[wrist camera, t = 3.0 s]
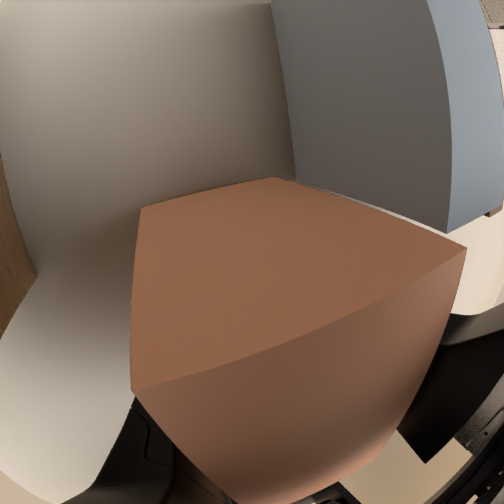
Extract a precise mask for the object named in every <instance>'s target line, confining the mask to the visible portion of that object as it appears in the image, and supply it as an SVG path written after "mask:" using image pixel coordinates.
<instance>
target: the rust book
mask: <svg viewBox="0 0 504 504" xmlns="http://www.w3.org/2000/svg"><path fill="white" fill-rule="evenodd" d="M466 252H467V248H466V247H464V246H462V245H460V244H458V243H456V242H454V241H451V240H449V239H447V238H445V237H443V236H440V235H438V234H436V233H434V232H431V231H429V230H427V229H424V228H422V227H419V226H417V225H415V224H412V223H410V222H407V221H405V220H402V219H400V218H397V217H395V216H392V215H389V214H387V213H384V212H381V211H379V210H376V209H373V208H371V207H368V206H365V205H362V204H359V203H357V202H354V201H351V200H348V199H345V198H342V197H339V196H336V195H333V194H330V193H327V192H324V191H321V190H317V189H314V188H311V187H308V186H304V185H301V184H298V183H294V182H291V181H287V180H284V179H280V178H277V177H268V178H263V179H258V180H253V181H248V182H243V183H238V184H234V185H229V186H224V187H220V188H215V189H211V190H207V191H203V192H198V193H194V194H190V195H186V196H182V197H178V198H174V199H171V200H167V201H163V202H159V203H156V204H152V205H148V206H145V207H141V213H140V219H139V226H138V234H137V241H136V250H135V259H134V270H133V282H132V296H131V317H130V377H131V390H132V392H133V393H134V395H135V396H136V397H137V399H138V400H139V401H140V403H141V404H142V405H143V407H144V408H145V409H146V411H147V412H148V413H149V414H150V416H151V417H152V418H153V419H154V421H155V422H156V423H157V424H158V425H159V427H160V428H161V429H162V430H163V431H164V433H165V434H166V435H167V436H168V437H169V438H170V439H171V441H172V442H173V443H174V444H175V445H176V446H177V447H178V448H179V449H180V450H181V452H182V453H183V454H184V455H185V456H186V457H187V458H188V459H189V460H190V461H191V462H192V463H193V464H194V465H195V466H196V467H197V468H198V469H199V470H200V471H201V472H202V473H203V474H204V475H205V476H207V477H208V478H209V479H210V480H211V481H212V482H213V483H214V484H215V485H216V486H218V487H219V488H220V489H221V490H222V491H223V492H225V493H226V494H227V495H228V496H229V497H230V498H232V499H233V500H234V501H235V502H237V503H238V504H291V503H293V502H296V501H298V500H300V499H303V498H305V497H307V496H309V495H312V494H314V493H316V492H318V491H320V490H322V489H324V488H326V487H328V486H330V485H332V484H334V483H336V482H338V481H339V480H341V479H343V478H345V477H347V476H348V475H350V474H352V473H354V472H355V471H357V470H358V469H360V468H362V467H363V466H365V465H367V464H368V463H370V462H371V461H373V460H374V459H376V458H377V456H378V455H379V454H380V452H381V451H382V449H383V448H384V446H385V445H386V444H387V442H388V440H389V439H390V438H391V436H392V434H393V433H394V431H395V430H396V428H397V427H398V425H399V423H400V422H401V420H402V418H403V417H404V415H405V413H406V412H407V410H408V408H409V406H410V404H411V403H412V401H413V399H414V397H415V395H416V393H417V391H418V389H419V387H420V385H421V383H422V381H423V379H424V377H425V375H426V373H427V371H428V369H429V367H430V364H431V362H432V360H433V357H434V355H435V353H436V350H437V348H438V345H439V343H440V340H441V338H442V335H443V332H444V330H445V327H446V324H447V321H448V318H449V315H450V312H451V309H452V306H453V303H454V300H455V296H456V293H457V289H458V286H459V282H460V278H461V274H462V270H463V266H464V261H465V256H466Z"/></svg>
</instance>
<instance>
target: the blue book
mask: <svg viewBox="0 0 504 504" xmlns="http://www.w3.org/2000/svg"><path fill="white" fill-rule="evenodd" d="M269 4H270V9H271V14H272V19H273V24H274V29H275V34H276V39H277V45H278V50H279V56H280V62H281V68H282V74H283V81H284V87H285V94H286V101H287V108H288V115H289V123H290V131H291V139H292V147H293V156H294V165H295V175H296V180H297V181H300V182H304V183H307V184H311V185H314V186H317V187H321V188H324V189H327V190H330V191H334V192H337V193H340V194H343V195H346V196H349V197H352V198H355V199H358V200H361V201H364V202H367V203H369V204H372V205H375V206H378V207H381V208H383V209H386V210H389V211H391V212H394V213H397V214H399V215H402V216H404V217H407V218H410V219H412V220H415V221H417V222H420V223H422V224H424V225H427V226H429V227H432V228H434V229H436V230H439V231H441V232H443V233H445V234H447V233H449V232H451V231H453V230H455V229H457V228H459V227H461V226H463V225H465V224H467V223H469V222H471V221H473V220H474V219H476V218H478V217H480V216H482V215H484V214H486V213H488V212H489V211H491V210H493V209H495V208H497V207H498V206H500V205H502V200H503V191H504V106H503V97H502V89H501V82H500V76H499V71H498V66H497V61H496V56H495V52H494V48H493V44H492V40H491V37H490V33H489V30H488V27H487V24H486V20H485V17H484V15H483V12H482V9H481V6H480V4H479V1H478V0H272V1H271V2H270V3H269Z"/></svg>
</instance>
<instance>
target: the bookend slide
mask: <svg viewBox="0 0 504 504" xmlns="http://www.w3.org/2000/svg"><path fill="white" fill-rule="evenodd" d="M36 279H37V276H36V273H35V271H34V269H33V266H32V264H31V261H30V259H29V256H28V254H27V251H26V249H25V246H24V243H23V240H22V237H21V235H20V232H19V229H18V225H17V222H16V219H15V216H14V212H13V209H12V205H11V202H10V198H9V194H8V190H7V185H6V181H5V176H4V171H3V166H2V160H1V154H0V339H1V337H2V335H3V333H4V331H5V329H6V328H7V326H8V324H9V322H10V320H11V319H12V317H13V315H14V313H15V312H16V310H17V308H18V307H19V305H20V303H21V302H22V300H23V298H24V297H25V295H26V294H27V292H28V291H29V289H30V288H31V286H32V285H33V283H34V282H35V280H36Z"/></svg>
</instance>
